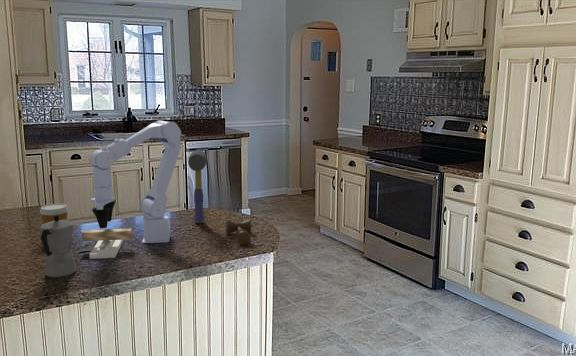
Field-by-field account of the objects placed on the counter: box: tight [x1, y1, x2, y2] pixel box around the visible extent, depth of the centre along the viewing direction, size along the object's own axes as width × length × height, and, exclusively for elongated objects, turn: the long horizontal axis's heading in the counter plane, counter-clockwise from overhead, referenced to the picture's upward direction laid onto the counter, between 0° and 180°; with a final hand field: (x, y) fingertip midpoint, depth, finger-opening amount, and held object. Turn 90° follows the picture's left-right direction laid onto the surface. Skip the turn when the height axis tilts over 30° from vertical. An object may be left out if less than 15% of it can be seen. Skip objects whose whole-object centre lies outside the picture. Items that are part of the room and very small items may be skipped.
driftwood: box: [78, 240, 98, 253], centre depth 175 cm, size 21×7×2 cm, turn 8°
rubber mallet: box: [187, 149, 208, 224], centre depth 198 cm, size 12×8×30 cm, turn 7°
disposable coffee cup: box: [39, 203, 69, 224], centre depth 179 cm, size 10×10×12 cm
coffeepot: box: [40, 215, 77, 278], centre depth 146 cm, size 15×9×18 cm, turn 179°
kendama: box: [224, 219, 252, 246], centre depth 184 cm, size 6×10×20 cm
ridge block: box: [89, 240, 124, 260], centre depth 168 cm, size 8×16×4 cm, turn 9°
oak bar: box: [81, 227, 133, 242], centre depth 167 cm, size 16×3×3 cm, turn 99°
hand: (105, 224), depth 166 cm, fingers open, 7 cm apart
